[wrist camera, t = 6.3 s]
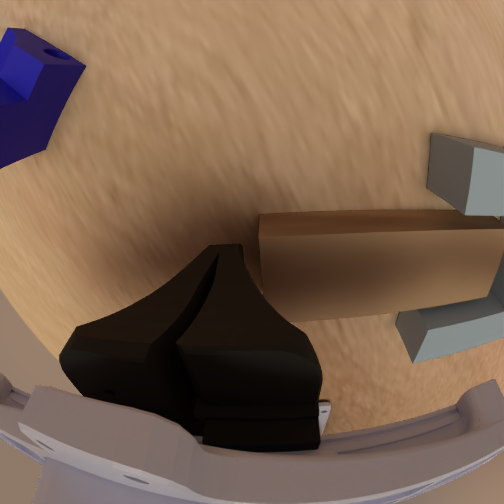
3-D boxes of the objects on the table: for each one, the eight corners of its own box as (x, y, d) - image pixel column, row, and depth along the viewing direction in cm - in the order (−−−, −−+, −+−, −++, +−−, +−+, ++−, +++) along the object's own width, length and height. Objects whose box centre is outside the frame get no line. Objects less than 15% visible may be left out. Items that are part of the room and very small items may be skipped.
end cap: (487, 306, 14) (507, 335, 11) (395, 324, 14) (412, 363, 12) (529, 155, 8) (564, 172, 6) (431, 132, 9) (474, 147, 6)
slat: (465, 271, 13) (487, 296, 11) (265, 287, 14) (265, 323, 12) (482, 208, 11) (510, 228, 9) (259, 210, 12) (258, 237, 10)
